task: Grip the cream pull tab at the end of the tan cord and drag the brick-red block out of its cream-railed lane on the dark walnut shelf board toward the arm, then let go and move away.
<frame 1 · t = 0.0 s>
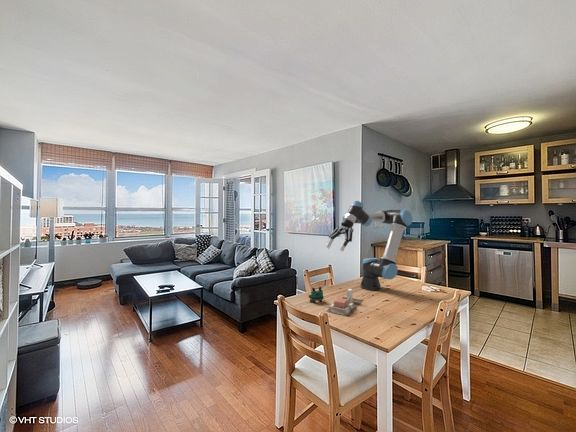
hand: (334, 248, 166), 36 cm above the table, tool tilted 35°, fingers open, 13 cm apart
lane shelf: (345, 307, 162), on the table
green toy creature: (315, 302, 171), on the table
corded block: (345, 306, 160), point 1 cm above the table, touching lane shelf
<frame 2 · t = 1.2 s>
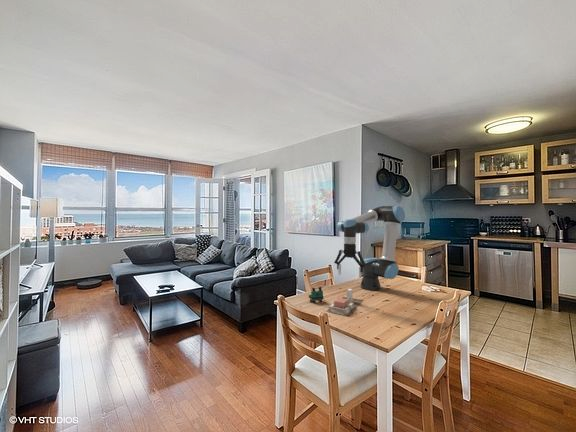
hand: (349, 275, 168), 18 cm above the table, tool pointing down, fingers open, 13 cm apart
nothing on the table moved.
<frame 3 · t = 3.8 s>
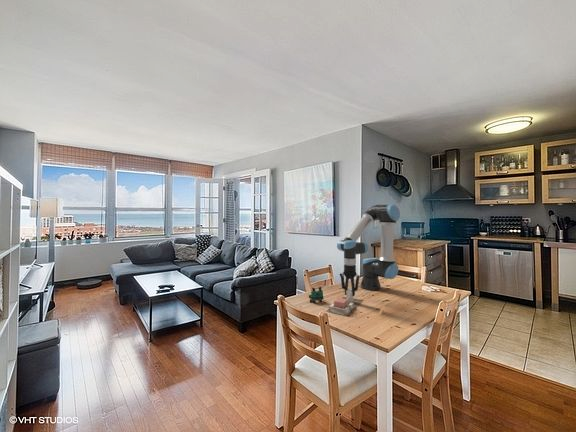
hand: (349, 300, 168), 2 cm above the table, tool pointing down, fingers closed on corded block, 2 cm apart
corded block: (345, 306, 160), point 1 cm above the table, touching gripper, lane shelf
everything else where it was.
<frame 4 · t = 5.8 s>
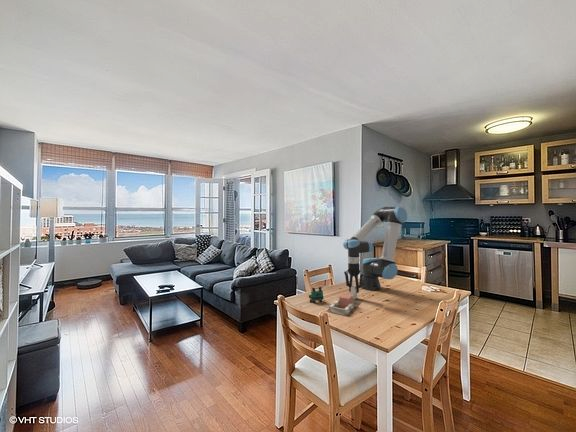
hand: (354, 297, 175), 2 cm above the table, tool pointing down, fingers closed on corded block, 2 cm apart
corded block: (349, 302, 167), point 1 cm above the table, touching gripper
everything else where it was.
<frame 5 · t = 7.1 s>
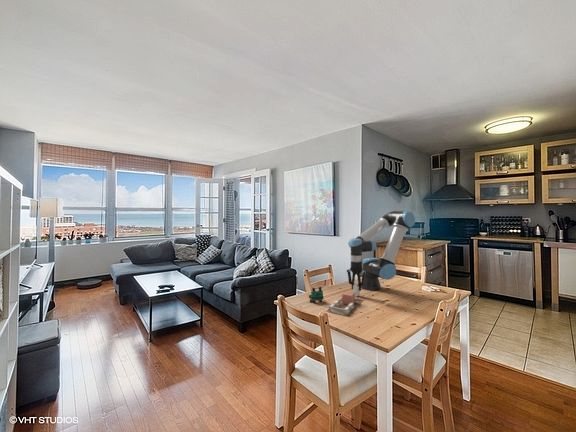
hand: (356, 294, 180), 2 cm above the table, tool pointing down, fingers closed on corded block, 2 cm apart
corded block: (352, 299, 172), point 1 cm above the table, touching gripper
everything else where it was.
when the fingers open (2 cm above the table, at t = 8.0 s): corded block stays where it is, resting on lane shelf.
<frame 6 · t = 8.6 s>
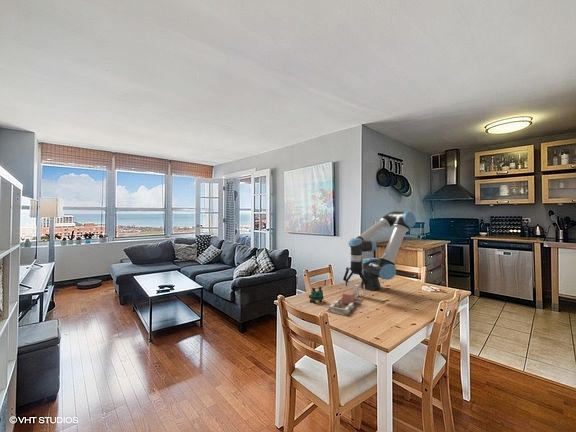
hand: (356, 292, 180), 3 cm above the table, tool pointing down, fingers open, 11 cm apart
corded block: (352, 300, 172), point 1 cm above the table, touching lane shelf
everything else where it was.
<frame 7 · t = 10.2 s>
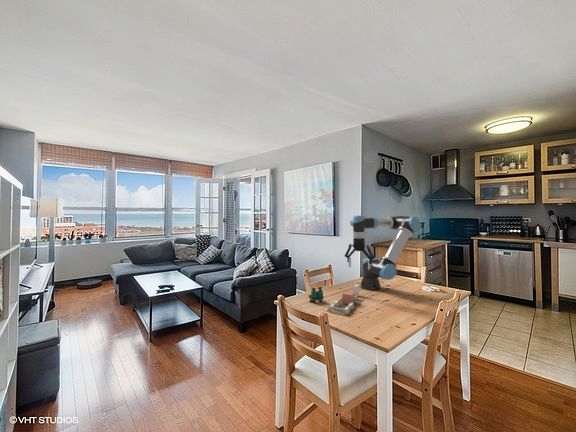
hand: (359, 268, 180), 20 cm above the table, tool pointing down, fingers open, 13 cm apart
nothing on the table moved.
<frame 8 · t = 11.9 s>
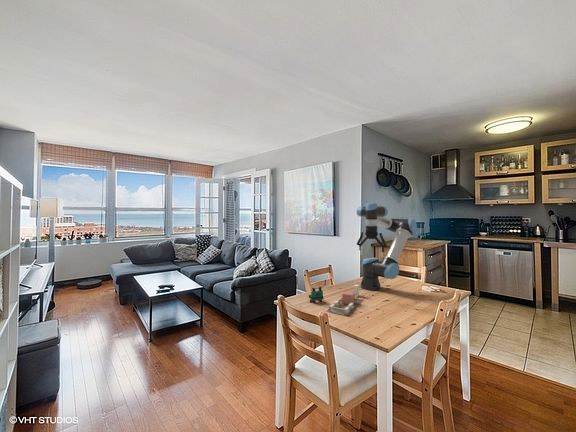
hand: (371, 256, 179), 29 cm above the table, tool pointing down, fingers open, 13 cm apart
nothing on the table moved.
at the end: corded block inside the target area (1.7 cm from its centre), point 0.7 cm above the table; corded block tilted 4°; the gripper is holding nothing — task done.
